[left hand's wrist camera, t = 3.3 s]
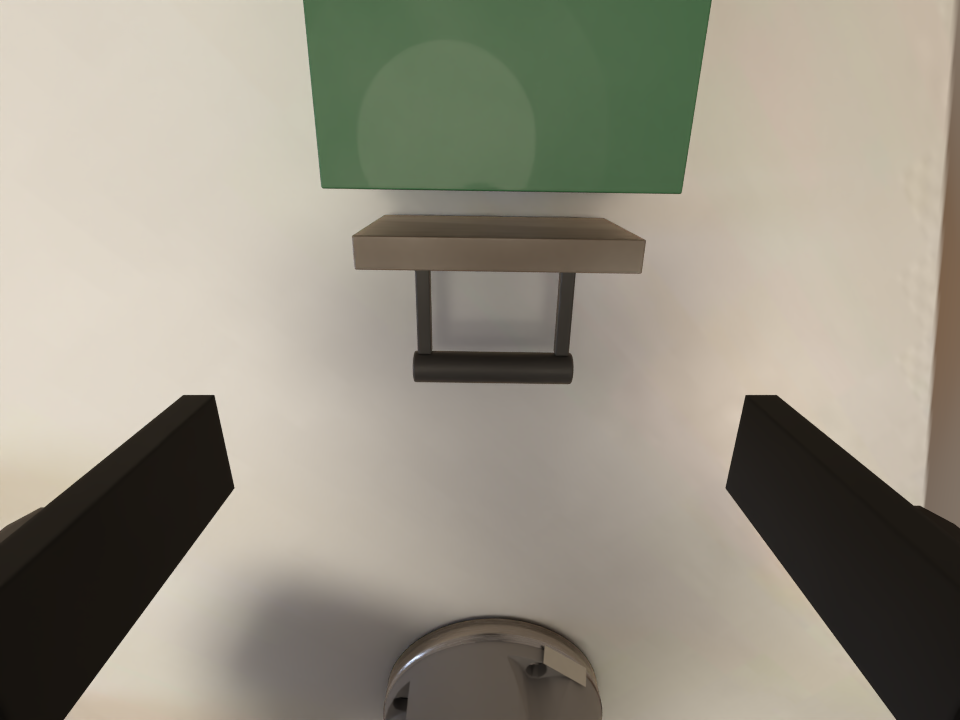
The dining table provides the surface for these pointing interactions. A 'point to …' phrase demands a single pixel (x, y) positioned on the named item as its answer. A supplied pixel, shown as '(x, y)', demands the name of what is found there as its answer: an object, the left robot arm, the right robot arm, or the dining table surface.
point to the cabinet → (505, 93)
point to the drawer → (496, 250)
